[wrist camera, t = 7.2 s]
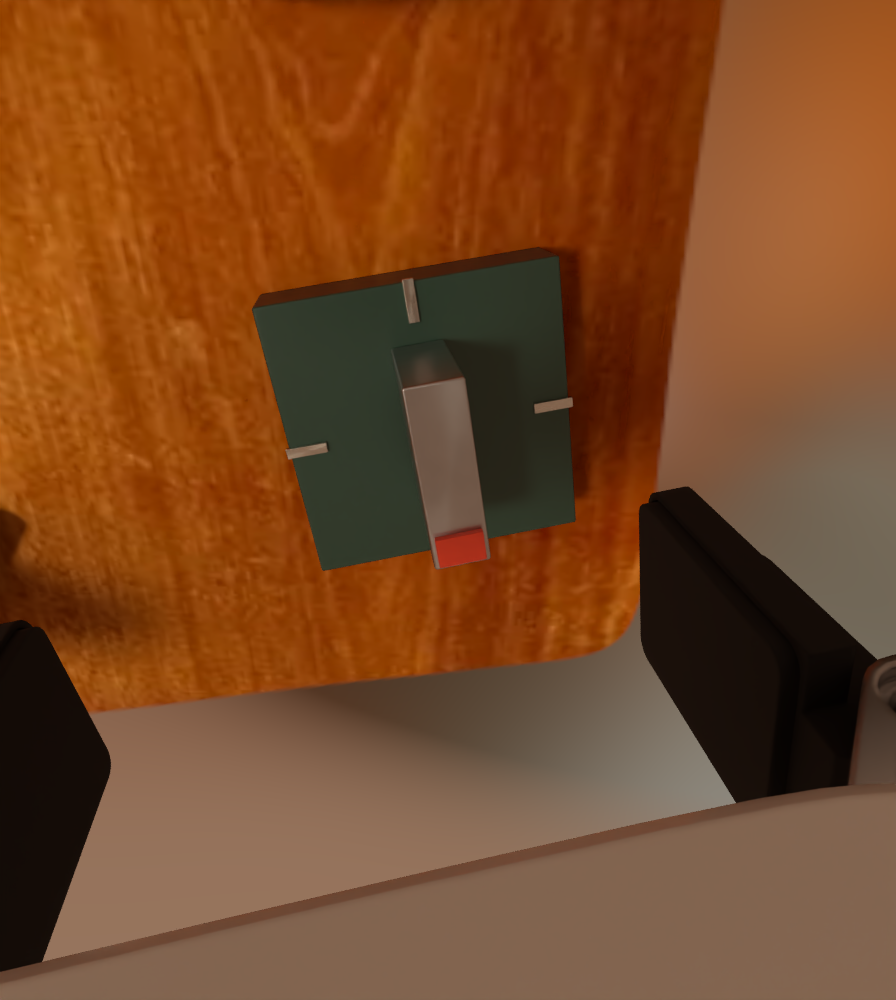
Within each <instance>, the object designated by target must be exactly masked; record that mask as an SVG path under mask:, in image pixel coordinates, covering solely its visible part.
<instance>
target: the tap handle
mask: <svg viewBox="0 0 896 1000" xmlns="http://www.w3.org/2000/svg"><path fill="white" fill-rule="evenodd" d="M391 354H392V360H393V365H394V370H395V375H396V381H397V386H398V391H399V396H400V402H401V407H402V412H403V417H404V423H405V428H406V433H407V438H408V444H409V449H410V454H411V459H412V465H413V470H414V475H415V480H416V486H417V491H418V496H419V501H420V506H421V511H422V515H423V519H424V524H425V528H426V532H427V537H428V541H429V545H430V550H431V554H432V558H433V563H434V567H435V569H442V568H447V567H452V566H457V565H462V564H467V563H472V562H476V561H481V560H486V559H489V558H490V556H491V555H490V548H489V541H488V534H487V527H486V520H485V513H484V506H483V499H482V492H481V485H480V478H479V471H478V463H477V456H476V449H475V442H474V435H473V428H472V421H471V414H470V407H469V400H468V393H467V386H466V379H465V377H464V375H463V373H462V372H461V370H460V368H459V366H458V365H457V363H456V361H455V359H454V358H453V356H452V354H451V352H450V351H449V349H448V347H447V345H446V344H445V342H444V340H437V341H431V342H426V343H420V344H415V345H410V346H404V347H399V348H393V349H392V350H391Z"/></svg>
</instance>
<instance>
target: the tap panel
mask: <svg viewBox="0 0 896 1000" xmlns="http://www.w3.org/2000/svg"><path fill="white" fill-rule="evenodd" d="M252 312H253V315H254V319H255V323H256V326H257V330H258V334H259V338H260V341H261V345H262V349H263V352H264V356H265V360H266V364H267V367H268V371H269V375H270V378H271V382H272V386H273V390H274V393H275V397H276V401H277V404H278V408H279V412H280V415H281V419H282V423H283V427H284V430H285V434H286V438H287V441H288V445H289V448H287V449H286V453H287V457H288V459H292V460H293V464H294V467H295V471H296V475H297V479H298V482H299V486H300V490H301V493H302V497H303V501H304V505H305V508H306V512H307V516H308V519H309V523H310V527H311V530H312V534H313V538H314V542H315V545H316V549H317V553H318V556H319V560H320V564H321V568H322V570H323V571H325V570H330V569H335V568H341V567H346V566H351V565H356V564H361V563H366V562H371V561H376V560H381V559H386V558H392V557H397V556H402V555H407V554H412V553H417V552H422V551H427V550H430V545H429V541H428V537H427V532H426V528H425V524H424V519H423V515H422V511H421V506H420V501H419V496H418V491H417V486H416V480H415V475H414V470H413V465H412V459H411V454H410V449H409V444H408V438H407V433H406V428H405V423H404V417H403V412H402V407H401V402H400V396H399V391H398V386H397V381H396V375H395V370H394V365H393V360H392V354H391V350H392V349H393V348H399V347H404V346H410V345H415V344H420V343H426V342H431V341H437V340H444V342H445V344H446V345H447V347H448V349H449V351H450V352H451V354H452V356H453V358H454V359H455V361H456V363H457V365H458V366H459V368H460V370H461V372H462V373H463V375H464V377H465V379H466V386H467V393H468V400H469V407H470V414H471V421H472V428H473V435H474V442H475V449H476V456H477V463H478V471H479V478H480V485H481V492H482V499H483V506H484V513H485V520H486V527H487V534H488V539H489V538H494V537H499V536H504V535H509V534H514V533H519V532H524V531H530V530H535V529H540V528H545V527H550V526H555V525H560V524H565V523H570V522H575V520H576V518H575V502H574V486H573V470H572V454H571V438H570V422H569V407H573V399H572V397H571V396H569V397H568V390H567V375H566V359H565V343H564V327H563V311H562V295H561V279H560V263H559V256H558V255H555V254H553V253H551V252H548V251H546V250H544V249H542V248H539V247H537V248H531V249H525V250H519V251H513V252H507V253H501V254H495V255H490V256H484V257H478V258H472V259H466V260H460V261H454V262H448V263H442V264H437V265H431V266H425V267H419V268H413V269H407V270H401V271H395V272H390V273H384V274H378V275H372V276H366V277H360V278H354V279H348V280H343V281H337V282H331V283H325V284H319V285H313V286H307V287H301V288H296V289H290V290H284V291H278V292H272V293H266V294H261V295H260V296H259V298H258V300H257V301H256V303H255V305H254V306H253V308H252Z"/></svg>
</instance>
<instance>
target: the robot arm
mask: <svg viewBox="0 0 896 1000" xmlns="http://www.w3.org/2000/svg"><path fill="white" fill-rule="evenodd" d="M639 547H640V616H641V618H640V619H641V642H642V646H643V650H644V653H645V655H646V657H647V659H648V661H649V663H650V664H651V666H652V667H653V669H654V671H655V672H656V674H657V676H658V677H659V679H660V680H661V682H662V683H663V685H664V687H665V688H666V690H667V692H668V693H669V695H670V697H671V698H672V700H673V701H674V703H675V705H676V706H677V708H678V710H679V711H680V713H681V714H682V716H683V718H684V719H685V721H686V722H687V724H688V726H689V727H690V729H691V731H692V732H693V734H694V736H695V737H696V738H697V740H698V742H699V744H700V745H701V747H702V748H703V750H704V752H705V753H706V755H707V756H708V758H709V760H710V761H711V763H712V765H713V766H714V768H715V769H716V771H717V773H718V774H719V776H720V777H721V779H722V781H723V782H724V784H725V786H726V787H727V789H728V790H729V792H730V794H731V795H732V797H733V799H734V800H735V802H736V803H735V804H730V805H726V806H720V807H716V808H711V809H706V810H701V811H696V812H692V813H687V814H682V815H678V816H672V817H668V818H663V819H658V820H654V821H648V822H644V823H639V824H635V825H630V826H626V827H621V828H617V829H613V830H608V831H604V832H600V833H595V834H590V835H586V836H582V837H577V838H573V839H568V840H564V841H560V842H555V843H551V844H546V845H542V846H537V847H533V848H529V849H524V850H520V851H515V852H511V853H506V854H502V855H498V856H494V857H489V858H485V859H480V860H476V861H471V862H467V863H462V864H458V865H453V866H449V867H445V868H441V869H436V870H432V871H428V872H424V873H419V874H415V875H410V876H406V877H402V878H397V879H393V880H388V881H385V882H380V883H376V884H371V885H367V886H363V887H358V888H354V889H350V890H345V891H341V892H337V893H332V894H328V895H324V896H320V897H315V898H311V899H307V900H303V901H298V902H294V903H289V904H285V905H281V906H277V907H272V908H268V909H264V910H259V911H255V912H251V913H247V914H242V915H239V916H234V917H229V918H225V919H221V920H217V921H212V922H208V923H204V924H200V925H195V926H191V927H187V928H183V929H179V930H175V931H170V932H166V933H162V934H158V935H154V936H149V937H145V938H141V939H137V940H132V941H128V942H124V943H120V944H116V945H112V946H107V947H104V948H99V949H95V950H91V951H86V952H82V953H78V954H74V955H69V956H65V957H61V958H57V959H53V960H49V961H44V962H42V961H43V958H44V955H45V952H46V950H47V947H48V944H49V941H50V939H51V936H52V933H53V930H54V927H55V924H56V922H57V919H58V916H59V914H60V911H61V908H62V905H63V903H64V900H65V897H66V894H67V892H68V889H69V886H70V883H71V881H72V878H73V875H74V872H75V869H76V867H77V864H78V861H79V858H80V856H81V853H82V850H83V847H84V845H85V842H86V839H87V836H88V834H89V831H90V828H91V825H92V822H93V820H94V817H95V814H96V811H97V808H98V806H99V803H100V800H101V797H102V795H103V792H104V789H105V787H106V784H107V781H108V778H109V775H110V769H111V760H110V755H109V752H108V749H107V747H106V746H105V744H104V742H103V740H102V738H101V736H100V734H99V732H98V731H97V729H96V727H95V725H94V723H93V721H92V719H91V718H90V716H89V714H88V712H87V710H86V708H85V706H84V704H83V702H82V700H81V699H80V697H79V695H78V693H77V691H76V689H75V687H74V685H73V684H72V682H71V680H70V678H69V676H68V674H67V672H66V670H65V668H64V667H63V665H62V663H61V661H60V659H59V657H58V655H57V653H56V652H55V650H54V648H53V646H52V644H51V642H50V640H49V638H48V637H47V635H46V633H45V632H44V630H43V629H41V628H40V627H32V626H31V625H30V624H29V623H28V622H26V621H23V620H18V621H13V622H8V623H3V624H0V1000H896V655H891V656H888V657H885V658H881V659H878V660H877V659H876V658H875V657H874V656H873V655H872V654H870V653H869V652H868V651H867V650H866V649H865V648H864V647H863V646H862V645H861V644H860V643H859V642H858V641H856V639H854V638H853V637H852V636H851V635H850V634H849V633H848V632H847V631H846V630H845V629H843V627H842V626H841V625H840V624H838V623H837V622H836V621H835V620H834V619H833V618H832V617H831V616H830V615H829V614H828V613H827V612H826V611H825V610H823V609H822V608H821V607H820V606H819V605H818V604H817V603H816V602H815V601H814V600H813V599H812V598H811V597H809V596H808V595H807V594H806V593H805V592H804V591H803V590H802V589H801V588H800V587H799V586H798V585H797V584H796V583H794V582H793V581H792V580H791V579H790V578H789V577H788V576H787V575H786V574H785V573H784V572H783V571H782V570H781V569H780V568H779V567H777V566H776V565H775V564H774V563H773V562H772V561H771V560H769V559H768V558H766V557H765V556H763V555H761V554H760V553H759V552H758V551H757V550H756V549H755V548H754V547H753V546H752V545H751V544H750V543H749V542H748V541H747V540H746V539H744V538H743V537H742V536H741V535H740V534H739V533H738V532H737V531H736V530H735V529H734V528H733V527H732V526H731V525H730V524H728V523H727V522H726V521H725V520H724V519H723V518H722V517H721V516H720V515H719V514H718V513H717V512H716V511H715V510H714V509H712V507H710V506H709V505H708V504H707V503H706V502H705V501H704V500H703V499H702V498H701V497H700V496H699V495H698V494H697V493H696V492H694V491H693V490H692V489H691V488H689V487H681V488H676V489H671V490H666V491H661V492H656V493H652V494H651V495H650V498H649V503H647V504H642V505H641V506H640V509H639Z"/></svg>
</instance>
